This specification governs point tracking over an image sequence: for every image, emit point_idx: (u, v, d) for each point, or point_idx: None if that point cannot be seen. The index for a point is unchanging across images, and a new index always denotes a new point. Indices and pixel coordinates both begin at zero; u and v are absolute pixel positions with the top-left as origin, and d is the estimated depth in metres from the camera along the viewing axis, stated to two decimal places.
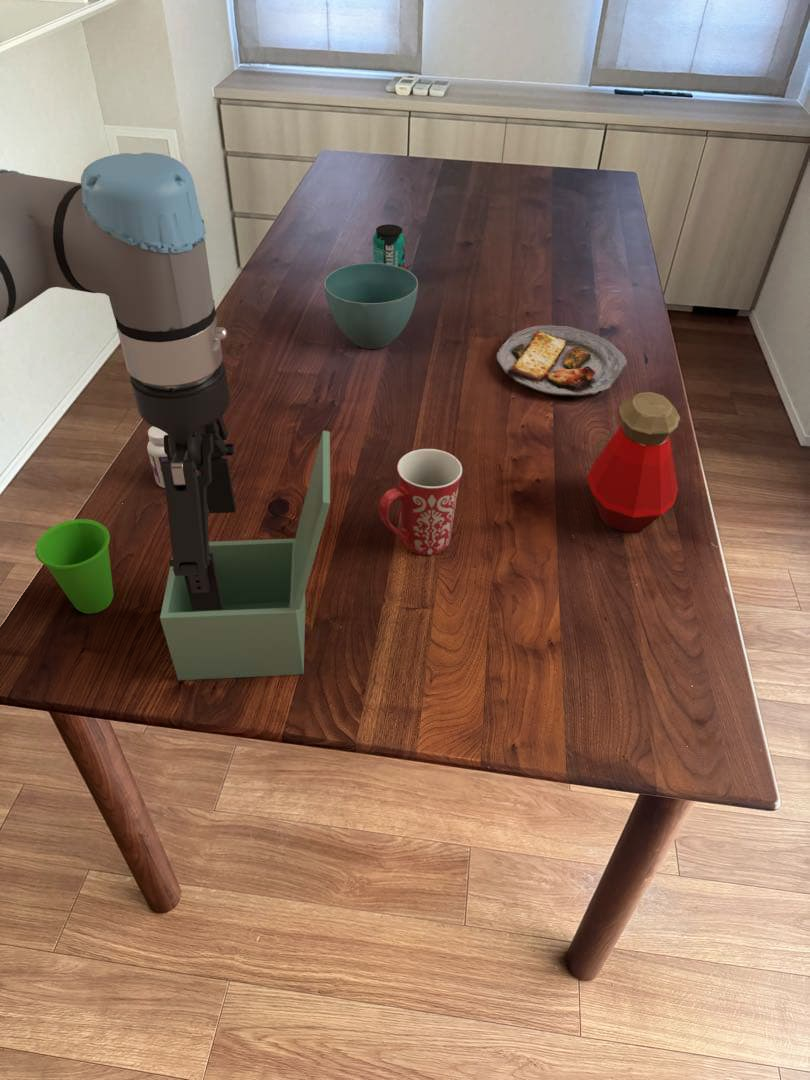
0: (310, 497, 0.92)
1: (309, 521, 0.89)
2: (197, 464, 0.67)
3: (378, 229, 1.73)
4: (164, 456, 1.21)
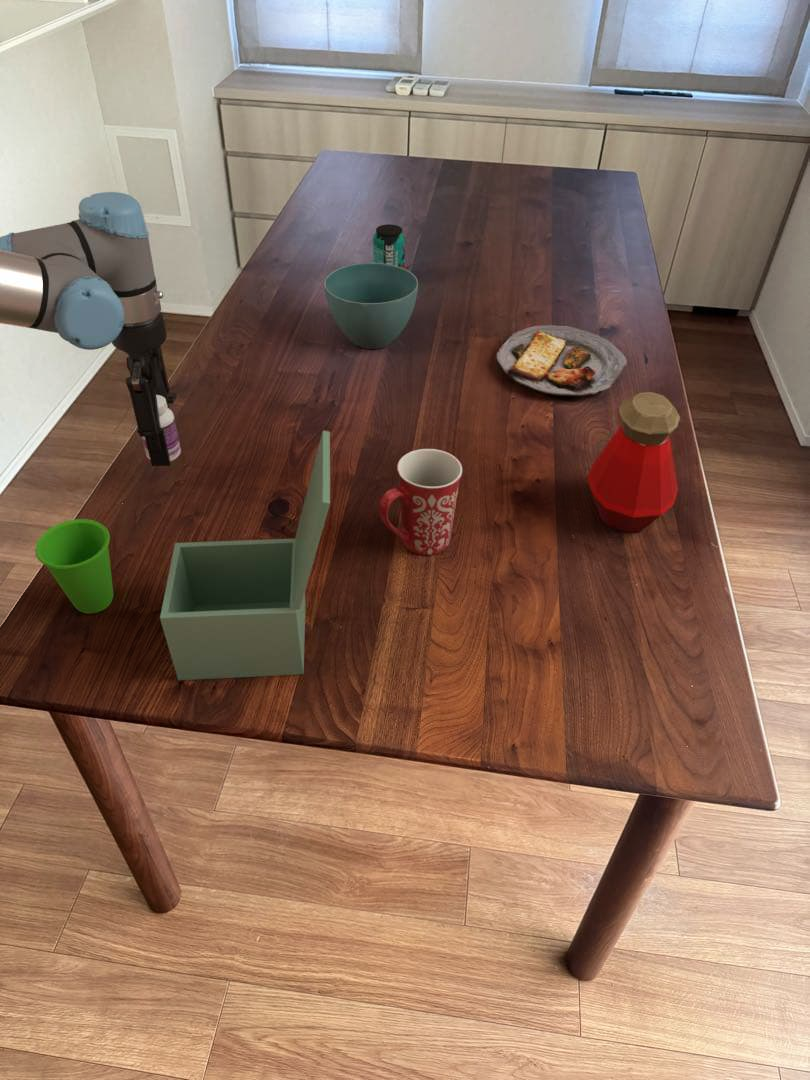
0: (310, 497, 0.92)
1: (309, 521, 0.89)
2: (146, 374, 1.11)
3: (378, 229, 1.73)
4: None
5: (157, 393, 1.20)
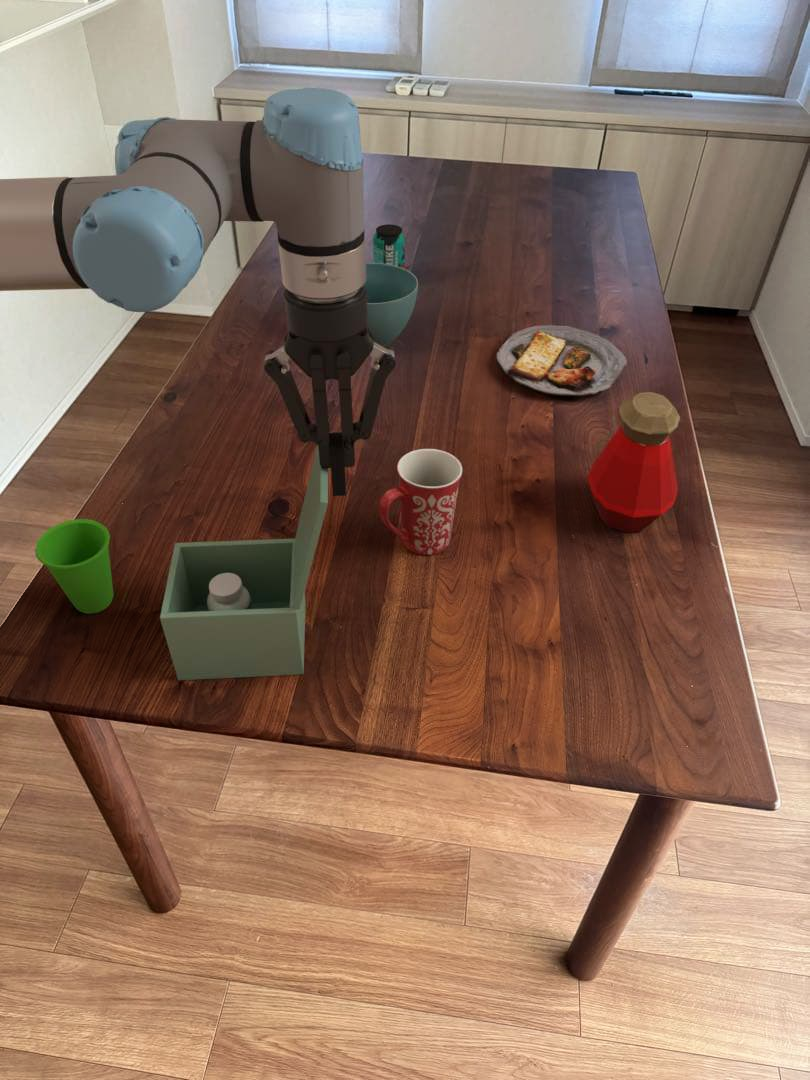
0: (309, 497, 0.91)
1: (308, 521, 0.89)
2: None
3: (378, 229, 1.73)
4: None
5: None
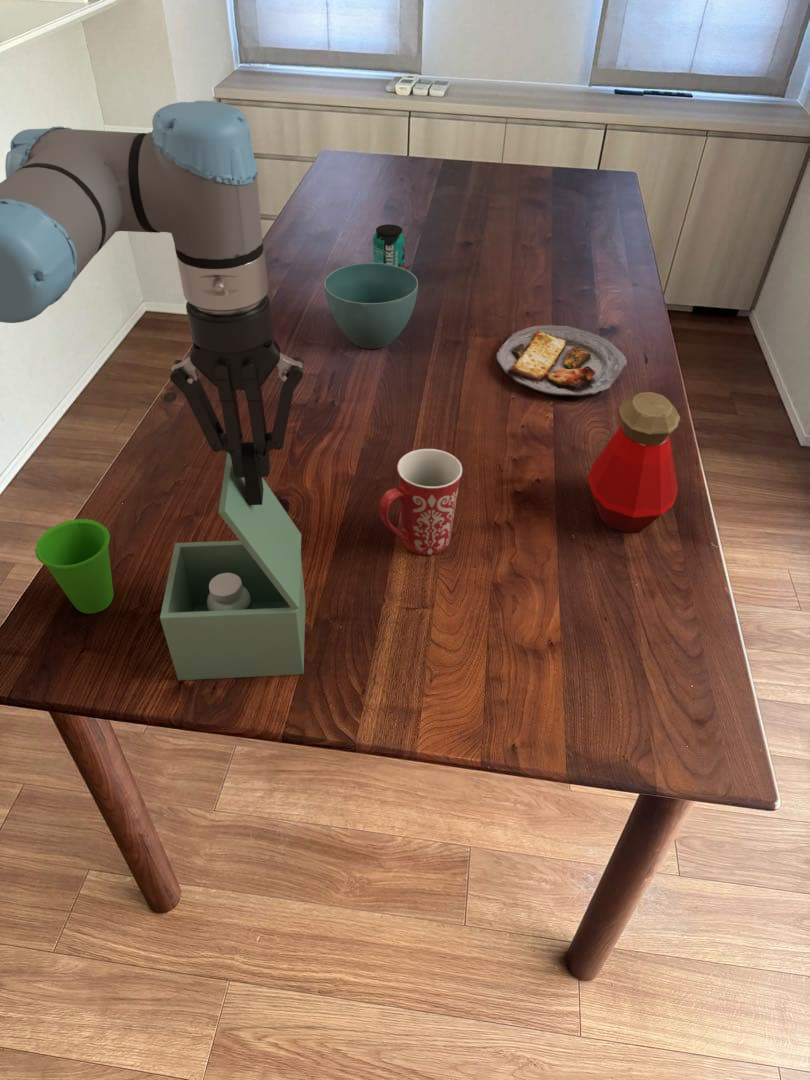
0: None
1: None
2: (203, 374, 0.76)
3: (378, 229, 1.73)
4: None
5: None
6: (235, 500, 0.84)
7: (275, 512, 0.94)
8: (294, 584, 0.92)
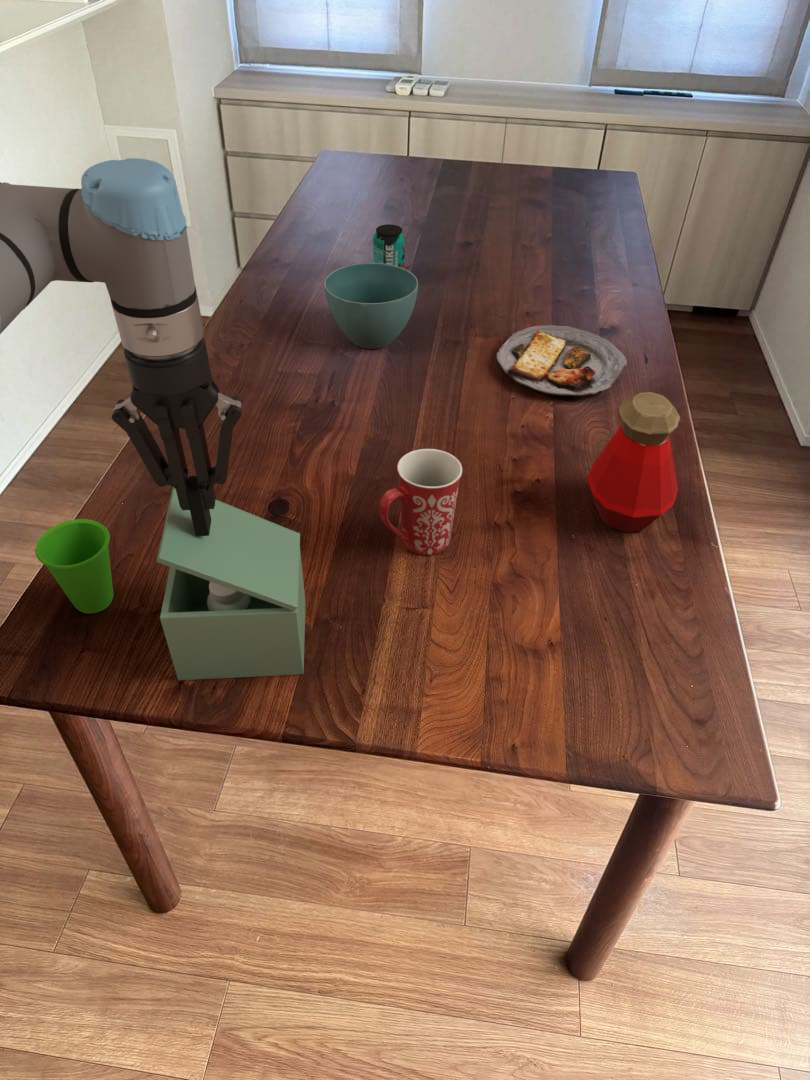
0: None
1: None
2: None
3: (378, 229, 1.73)
4: None
5: None
6: (177, 541, 0.87)
7: (250, 528, 0.96)
8: (287, 586, 0.93)
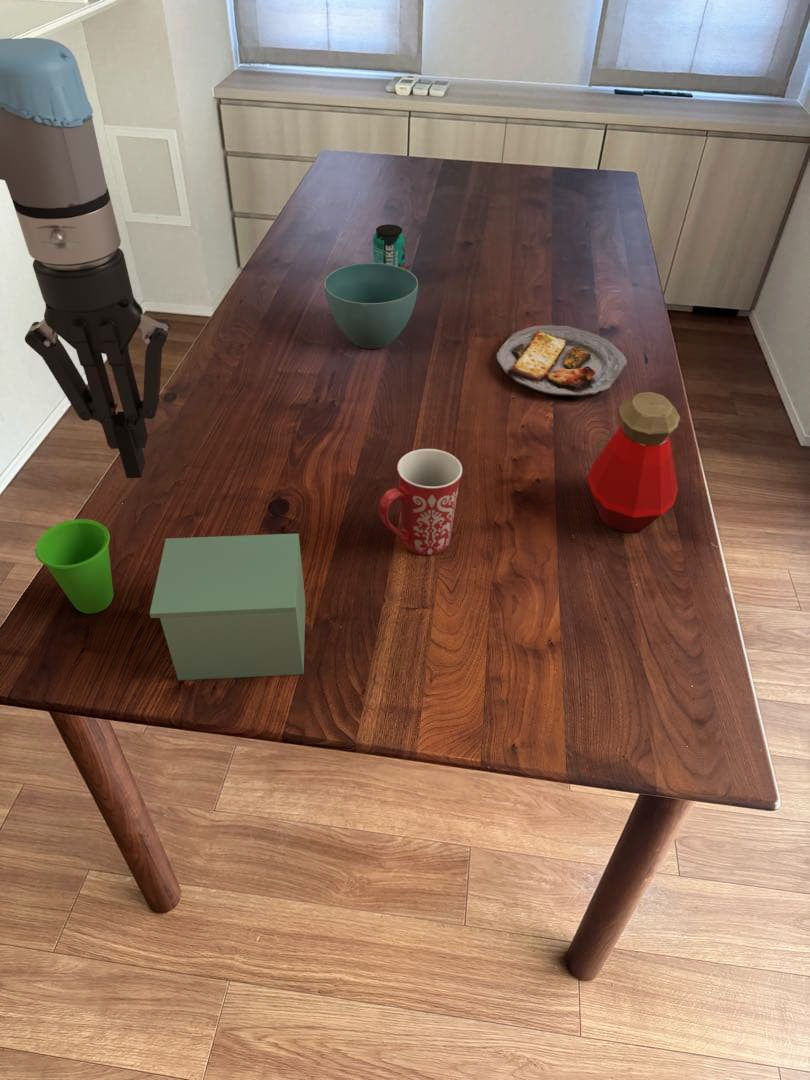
0: None
1: None
2: (60, 336, 0.72)
3: (378, 229, 1.73)
4: None
5: None
6: (167, 592, 0.93)
7: (243, 549, 0.98)
8: (283, 591, 0.93)
